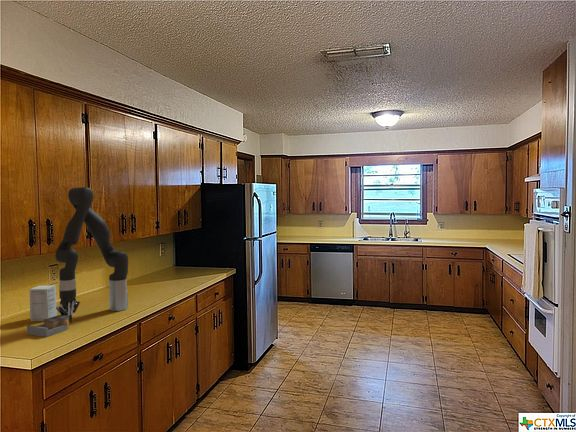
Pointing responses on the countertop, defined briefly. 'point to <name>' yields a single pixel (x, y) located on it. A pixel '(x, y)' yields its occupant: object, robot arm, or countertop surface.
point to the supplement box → (42, 303)
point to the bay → (46, 330)
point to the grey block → (55, 321)
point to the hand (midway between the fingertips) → (68, 322)
